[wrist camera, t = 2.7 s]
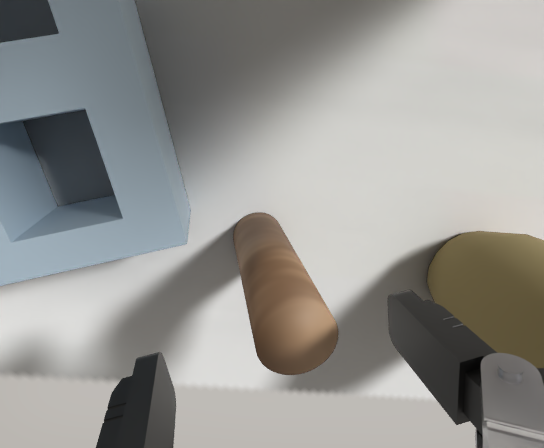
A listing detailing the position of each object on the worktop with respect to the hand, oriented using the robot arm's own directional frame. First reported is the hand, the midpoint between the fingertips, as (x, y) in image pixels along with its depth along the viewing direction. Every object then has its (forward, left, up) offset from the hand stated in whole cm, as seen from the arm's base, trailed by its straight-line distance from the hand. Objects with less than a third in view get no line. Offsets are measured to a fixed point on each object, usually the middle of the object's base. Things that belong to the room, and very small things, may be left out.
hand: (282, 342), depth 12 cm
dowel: (-1, 0, -10) cm, 10 cm away
